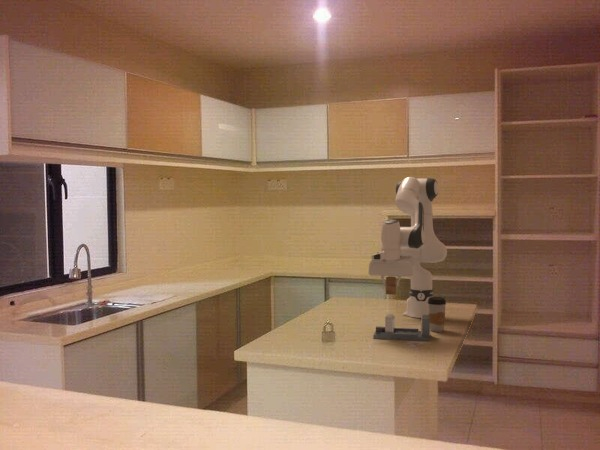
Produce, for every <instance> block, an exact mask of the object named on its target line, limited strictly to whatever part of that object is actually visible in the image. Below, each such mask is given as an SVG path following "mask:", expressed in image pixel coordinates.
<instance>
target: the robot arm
mask: <svg viewBox="0 0 600 450" xmlns="http://www.w3.org/2000/svg"><path fill="white" fill-rule="evenodd" d="M438 194H439V184H438V180H436V179H435V178H432V177H428V178H425V177H424V178H421V177H420V178H416V177H414V176H408V177H405V178H403V180H400V181H398V183H397V184H396V186H395V195H396V196H395V201H394V202H395V206H396V208H397V209H398V210H399V211H401V212H402V213H404V214H407V215H410V226H401V225H400V221H399V220H397V219H386V220H384V221H383V222H382V223H381V234H380V236H381V237H380V240H381V247H380V249H381V250H380V251H379V252H376V253H372V254H371V256H370V258H371V260H370V261H369V265H368V275H369V276H380V280H381V281H382V285H383V286H385V287H386V279H384V278H385V276H386V277H397V281H396V282H395V286H396V287H399V286H400V281H401V279H402V277H409V278H410V288H409V297H408V298H407V299H406V311H404V312H403V313H402V314H403V316H405V317H406V316H407V317H410V318H418V319H421V317H422V316H423V315H429V310H428V300H429V298H430V297H434V289H433V274H432V273H431V271H429V270H428V269H426V268H424V267H422V265H421V263H426V264H427V263H429V264H430V263H431V264H433V263H440V262H444V261H445V260H446V258H447V255H448V250H447V247H446V245H445V244H444V242H442V241H440V240H439V239H438V237H437V236H436V234H435V231H434V223H433V204H432V202H433V201H434V199H436V197H437V196H438Z"/></svg>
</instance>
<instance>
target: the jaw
mask: <svg viewBox="0 0 600 450" xmlns="http://www.w3.org/2000/svg"><path fill="white" fill-rule="evenodd" d="M395 321H396V317H395V315H394V313H386V315H385V317H384V325H385V326H378V325H377V326H375V331H376V332H385V333H393V332H394V330H395V328H396V324H395V323H396V322H395Z"/></svg>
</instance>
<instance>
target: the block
mask: <svg viewBox="0 0 600 450" xmlns="http://www.w3.org/2000/svg"><path fill="white" fill-rule="evenodd" d="M396 277H397V276H386V278H385V281H386V286H385V295H396V294H397V292H396V291H397V289H396V288H397V286H395V282H397V281H396V280H397V278H396Z"/></svg>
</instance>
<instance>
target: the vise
mask: <svg viewBox="0 0 600 450" xmlns="http://www.w3.org/2000/svg"><path fill="white" fill-rule="evenodd" d="M420 319H421V320H420V330H419V328H410V327H409V328H408V327H407V328H405V327H395V330H394V332H393V333H385V332H376V330H375V331H374V332H373V339H377V340H378V339H380V340H397V341H398V340H399V341H400V340H402V341H419V342H420V341H421V342H423V341H424V342H430V338H431V333H430V331H431V330H430V315H423V316H422V317H421V318H420Z"/></svg>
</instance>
